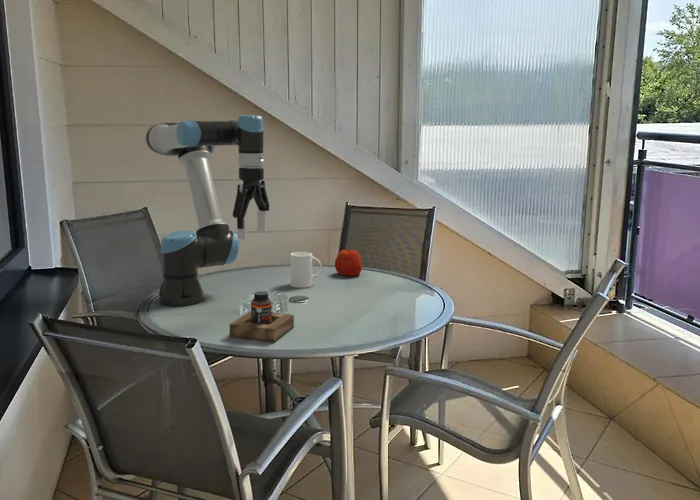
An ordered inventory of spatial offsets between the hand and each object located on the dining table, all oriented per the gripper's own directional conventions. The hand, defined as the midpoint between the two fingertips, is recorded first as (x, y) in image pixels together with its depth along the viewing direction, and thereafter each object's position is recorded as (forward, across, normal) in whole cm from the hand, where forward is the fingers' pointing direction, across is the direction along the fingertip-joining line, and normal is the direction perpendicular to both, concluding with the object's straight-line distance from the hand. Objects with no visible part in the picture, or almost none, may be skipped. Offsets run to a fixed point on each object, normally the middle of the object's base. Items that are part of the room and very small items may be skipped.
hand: (252, 235), depth 202 cm
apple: (+27, +60, -12) cm, 67 cm away
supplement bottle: (+25, -16, -11) cm, 31 cm away
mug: (+26, +39, -2) cm, 47 cm away
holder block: (+25, -16, -11) cm, 32 cm away
